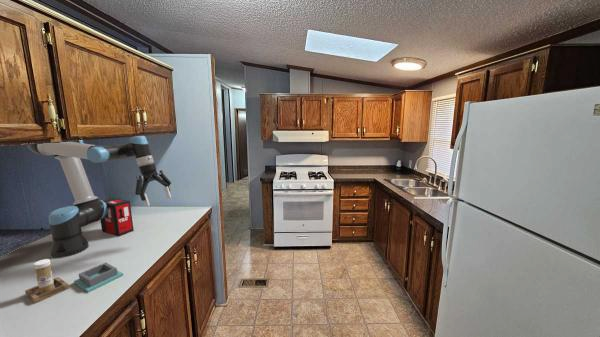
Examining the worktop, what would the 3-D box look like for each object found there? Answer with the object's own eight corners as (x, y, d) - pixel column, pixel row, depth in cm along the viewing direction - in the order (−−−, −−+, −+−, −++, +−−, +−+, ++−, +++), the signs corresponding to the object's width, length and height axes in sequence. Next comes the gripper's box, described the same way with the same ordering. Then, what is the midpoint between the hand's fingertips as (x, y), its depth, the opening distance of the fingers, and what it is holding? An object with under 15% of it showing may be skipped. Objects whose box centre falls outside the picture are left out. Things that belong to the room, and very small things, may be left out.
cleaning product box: (102, 232, 155) (97, 202, 151) (117, 226, 163) (113, 198, 160) (119, 236, 149) (114, 205, 145) (133, 230, 157) (129, 201, 153)
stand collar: (25, 295, 98) (24, 290, 97) (59, 281, 106) (58, 277, 106) (35, 303, 93) (34, 298, 93) (69, 288, 102) (68, 283, 101)
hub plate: (74, 283, 105) (72, 274, 104) (108, 267, 116) (107, 260, 115) (88, 292, 99) (86, 283, 98) (123, 275, 110) (122, 267, 109)
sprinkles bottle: (39, 297, 96) (32, 266, 94) (40, 291, 100) (33, 261, 97) (55, 291, 100) (49, 261, 97) (55, 286, 103) (49, 257, 100)
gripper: (128, 168, 119) (142, 209, 122) (170, 159, 142) (181, 193, 145) (118, 170, 122) (132, 210, 125) (161, 161, 144) (172, 195, 147)
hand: (158, 201), depth 135 cm, fingers open, 13 cm apart
